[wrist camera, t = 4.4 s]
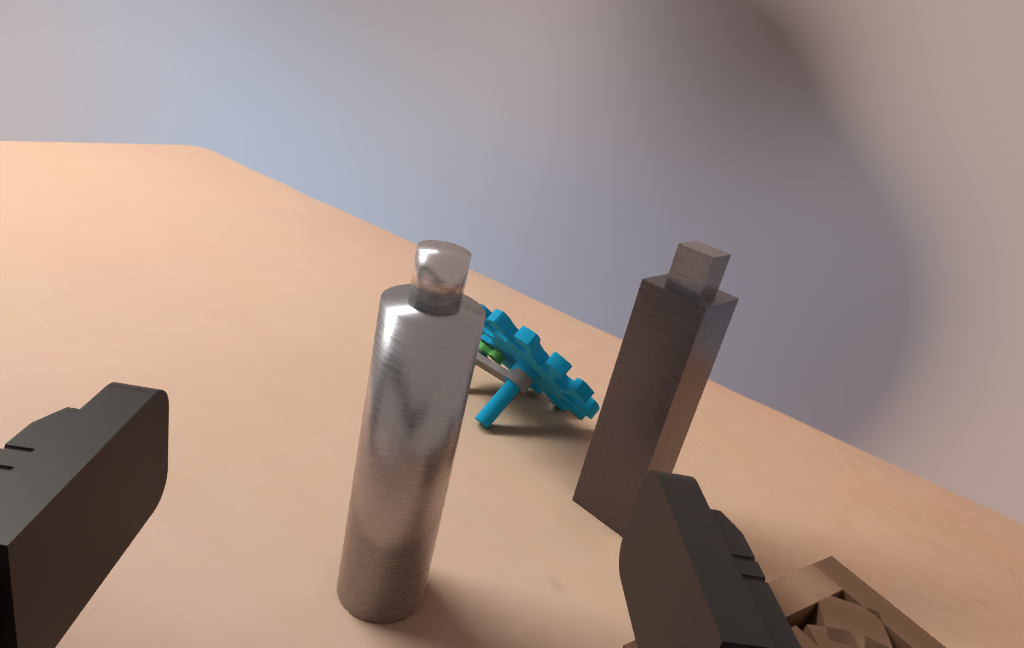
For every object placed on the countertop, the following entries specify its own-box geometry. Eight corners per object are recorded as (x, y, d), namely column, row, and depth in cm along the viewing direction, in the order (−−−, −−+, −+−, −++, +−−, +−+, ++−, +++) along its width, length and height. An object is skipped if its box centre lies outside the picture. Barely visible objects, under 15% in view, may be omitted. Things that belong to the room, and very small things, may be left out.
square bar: (622, 536, 34) (722, 265, 28) (572, 499, 36) (655, 238, 30) (656, 513, 36) (754, 259, 30) (607, 479, 38) (690, 234, 32)
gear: (628, 425, 41) (562, 327, 35) (569, 500, 40) (489, 413, 33) (519, 363, 49) (449, 275, 43) (467, 423, 48) (387, 341, 41)
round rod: (354, 634, 25) (417, 270, 19) (325, 567, 28) (373, 229, 22) (438, 608, 27) (518, 270, 21) (404, 547, 30) (466, 233, 24)
